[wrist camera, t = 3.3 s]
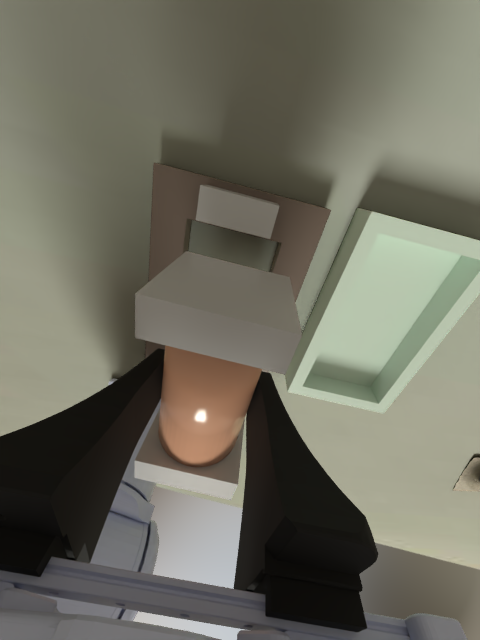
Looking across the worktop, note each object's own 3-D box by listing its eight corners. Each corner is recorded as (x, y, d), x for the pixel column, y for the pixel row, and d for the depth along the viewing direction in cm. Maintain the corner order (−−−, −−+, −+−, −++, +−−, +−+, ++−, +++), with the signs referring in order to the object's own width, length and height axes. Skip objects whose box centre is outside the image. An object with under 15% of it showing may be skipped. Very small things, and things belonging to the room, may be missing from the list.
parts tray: (372, 393, 24) (383, 413, 22) (285, 373, 23) (287, 391, 21) (482, 241, 17) (514, 249, 14) (357, 207, 16) (371, 211, 14)
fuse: (240, 417, 17) (231, 500, 12) (169, 400, 17) (134, 477, 12) (289, 277, 11) (302, 335, 7) (186, 251, 11) (135, 293, 7)
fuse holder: (258, 387, 25) (257, 415, 22) (150, 362, 24) (134, 388, 21) (325, 207, 16) (340, 213, 13) (162, 164, 16) (139, 159, 13)
